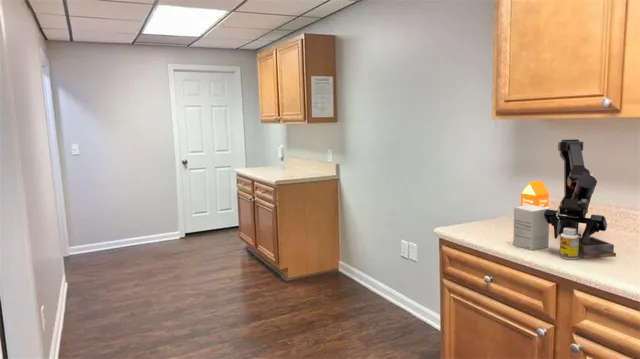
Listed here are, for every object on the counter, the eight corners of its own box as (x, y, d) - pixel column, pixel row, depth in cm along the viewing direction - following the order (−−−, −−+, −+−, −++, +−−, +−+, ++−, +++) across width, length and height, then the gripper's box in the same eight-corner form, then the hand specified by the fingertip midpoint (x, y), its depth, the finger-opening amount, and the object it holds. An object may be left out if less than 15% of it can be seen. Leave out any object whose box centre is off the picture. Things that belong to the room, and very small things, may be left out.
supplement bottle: (556, 255, 156) (557, 227, 155) (572, 254, 156) (573, 226, 155) (565, 260, 151) (566, 231, 149) (581, 259, 151) (582, 230, 149)
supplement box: (529, 241, 174) (530, 204, 172) (549, 247, 166) (550, 208, 164) (512, 244, 171) (513, 206, 169) (531, 250, 163) (533, 210, 161)
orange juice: (519, 224, 201) (520, 181, 198) (532, 222, 205) (533, 179, 202) (535, 228, 194) (536, 183, 191) (548, 225, 198) (549, 181, 195)
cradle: (591, 246, 165) (591, 236, 165) (615, 256, 153) (616, 245, 153) (561, 248, 164) (561, 238, 163) (583, 258, 152) (584, 247, 151)
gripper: (546, 187, 160) (534, 222, 154) (606, 192, 147) (595, 231, 140) (553, 205, 166) (541, 240, 160) (611, 211, 153) (600, 249, 147)
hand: (568, 239), depth 152 cm, fingers open, 8 cm apart
